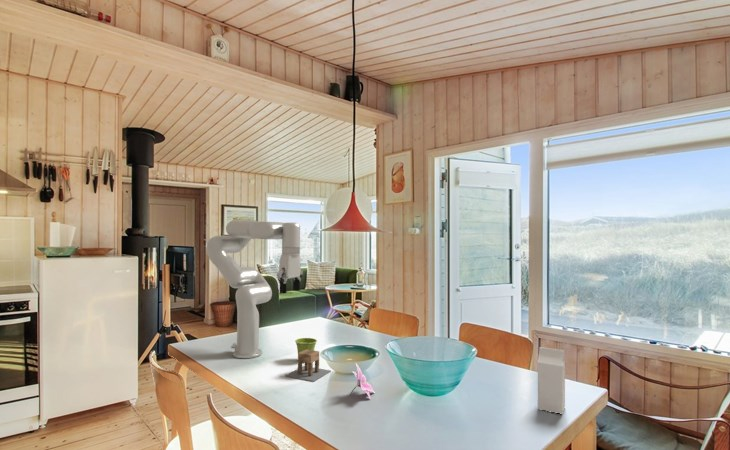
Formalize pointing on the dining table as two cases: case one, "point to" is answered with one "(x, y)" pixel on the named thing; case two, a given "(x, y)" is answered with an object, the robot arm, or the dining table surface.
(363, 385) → the lily
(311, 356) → the stool
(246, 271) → the robot arm
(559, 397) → the milk carton
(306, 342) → the plant pot
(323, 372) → the mat
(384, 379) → the dining table surface
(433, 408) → the dining table surface
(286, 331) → the dining table surface
